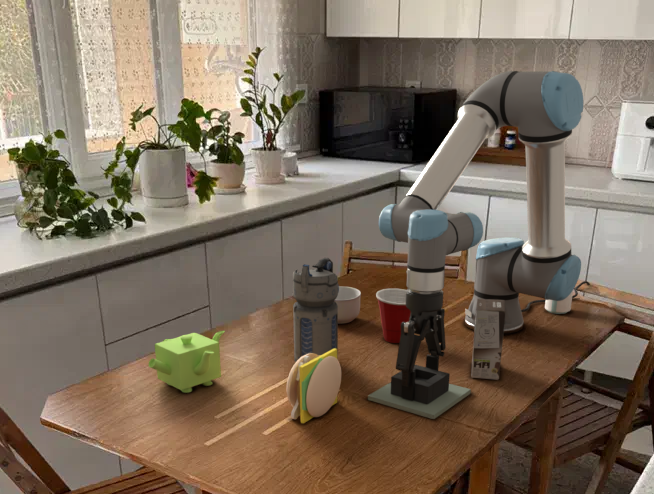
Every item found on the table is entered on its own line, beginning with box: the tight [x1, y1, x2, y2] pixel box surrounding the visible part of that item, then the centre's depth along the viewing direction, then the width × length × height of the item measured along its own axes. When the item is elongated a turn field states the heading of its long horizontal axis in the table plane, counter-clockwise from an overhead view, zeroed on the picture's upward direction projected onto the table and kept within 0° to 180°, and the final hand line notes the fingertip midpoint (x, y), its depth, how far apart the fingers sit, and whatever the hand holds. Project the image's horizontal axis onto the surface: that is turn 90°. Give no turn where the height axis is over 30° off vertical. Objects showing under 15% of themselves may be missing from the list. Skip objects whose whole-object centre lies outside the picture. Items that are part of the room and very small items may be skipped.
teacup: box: [335, 286, 362, 324], centre depth 213 cm, size 14×11×8 cm
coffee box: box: [470, 299, 506, 381], centre depth 176 cm, size 9×6×16 cm
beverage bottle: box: [292, 257, 340, 363], centre depth 179 cm, size 10×13×25 cm
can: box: [544, 290, 574, 315], centre depth 218 cm, size 7×7×12 cm
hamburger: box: [285, 348, 342, 424], centre depth 158 cm, size 12×8×12 cm
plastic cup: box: [375, 288, 411, 344], centre depth 197 cm, size 11×11×12 cm
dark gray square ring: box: [390, 364, 451, 404], centre depth 166 cm, size 9×9×4 cm
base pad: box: [367, 377, 472, 420], centre depth 166 cm, size 16×16×4 cm
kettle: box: [148, 330, 226, 394], centre depth 171 cm, size 15×14×11 cm
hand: (419, 391), depth 166 cm, fingers closed on dark gray square ring, 9 cm apart
